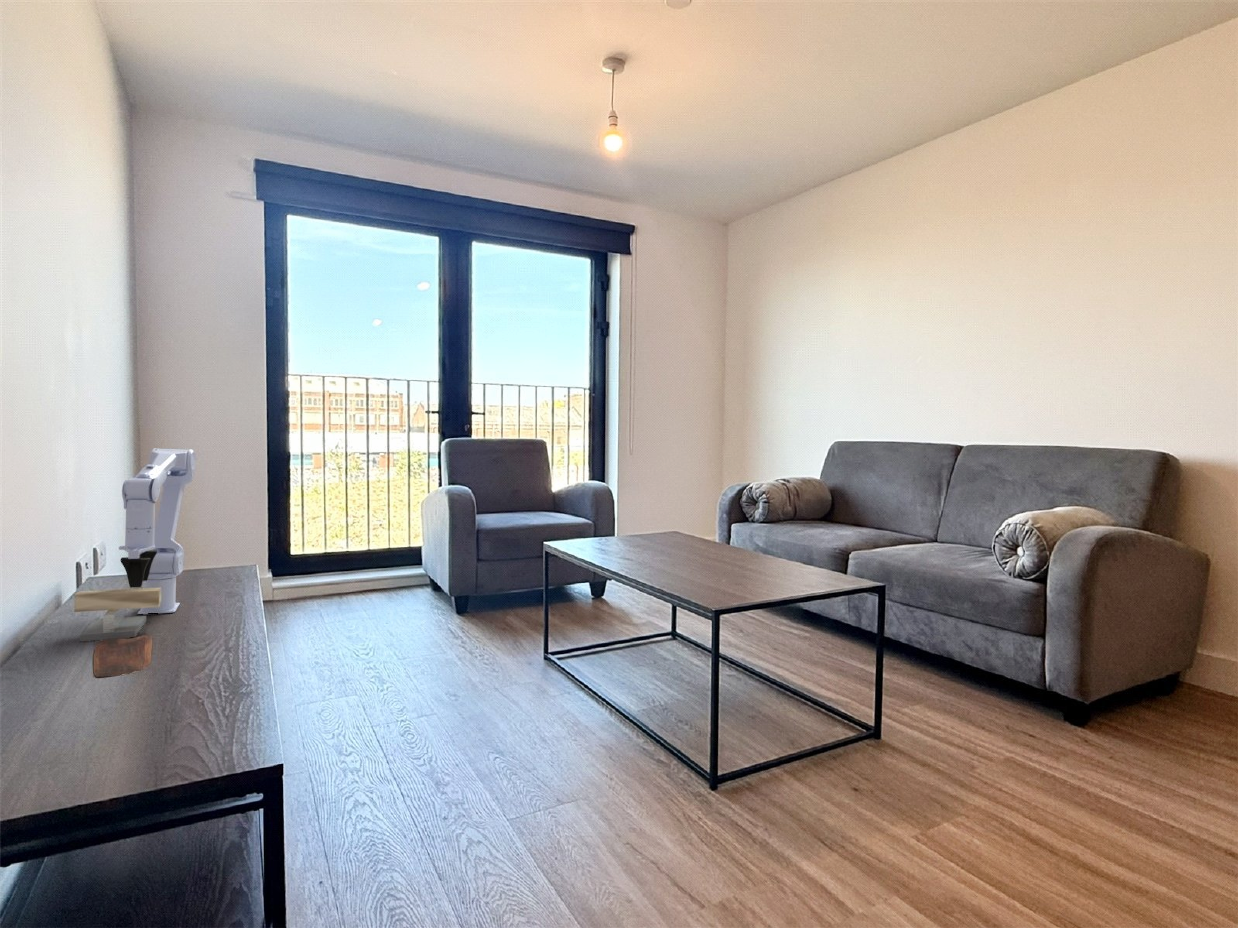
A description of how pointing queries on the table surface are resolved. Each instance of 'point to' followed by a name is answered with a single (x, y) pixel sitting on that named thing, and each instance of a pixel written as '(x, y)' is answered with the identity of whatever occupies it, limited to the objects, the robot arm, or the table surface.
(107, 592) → the maple bar
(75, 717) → the table surface
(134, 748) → the table surface
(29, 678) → the table surface
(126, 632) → the grey slab
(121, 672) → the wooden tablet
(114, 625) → the steel ridge
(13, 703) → the table surface
